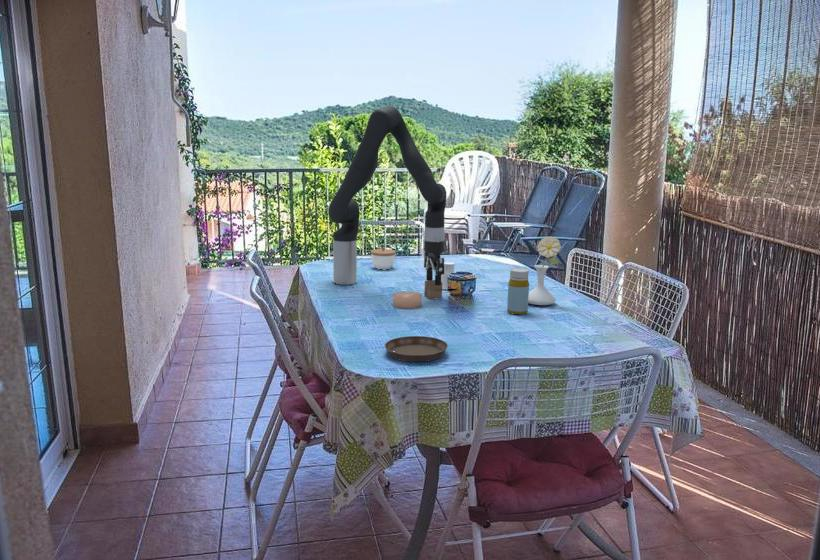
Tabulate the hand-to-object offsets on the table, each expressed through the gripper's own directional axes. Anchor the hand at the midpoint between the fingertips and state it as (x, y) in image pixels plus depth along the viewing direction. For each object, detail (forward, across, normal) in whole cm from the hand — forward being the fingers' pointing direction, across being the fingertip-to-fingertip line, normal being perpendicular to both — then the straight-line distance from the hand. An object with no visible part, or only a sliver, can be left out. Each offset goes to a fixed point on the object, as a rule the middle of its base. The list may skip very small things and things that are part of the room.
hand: (433, 282), depth 271 cm
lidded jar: (+5, -54, -2) cm, 55 cm away
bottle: (+6, +27, +20) cm, 35 cm away
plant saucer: (+7, +60, -28) cm, 66 cm away
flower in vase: (+6, +19, +34) cm, 40 cm away
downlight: (+6, -13, +11) cm, 18 cm away
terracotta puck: (+6, +8, -13) cm, 16 cm away
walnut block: (+6, -1, 0) cm, 6 cm away
